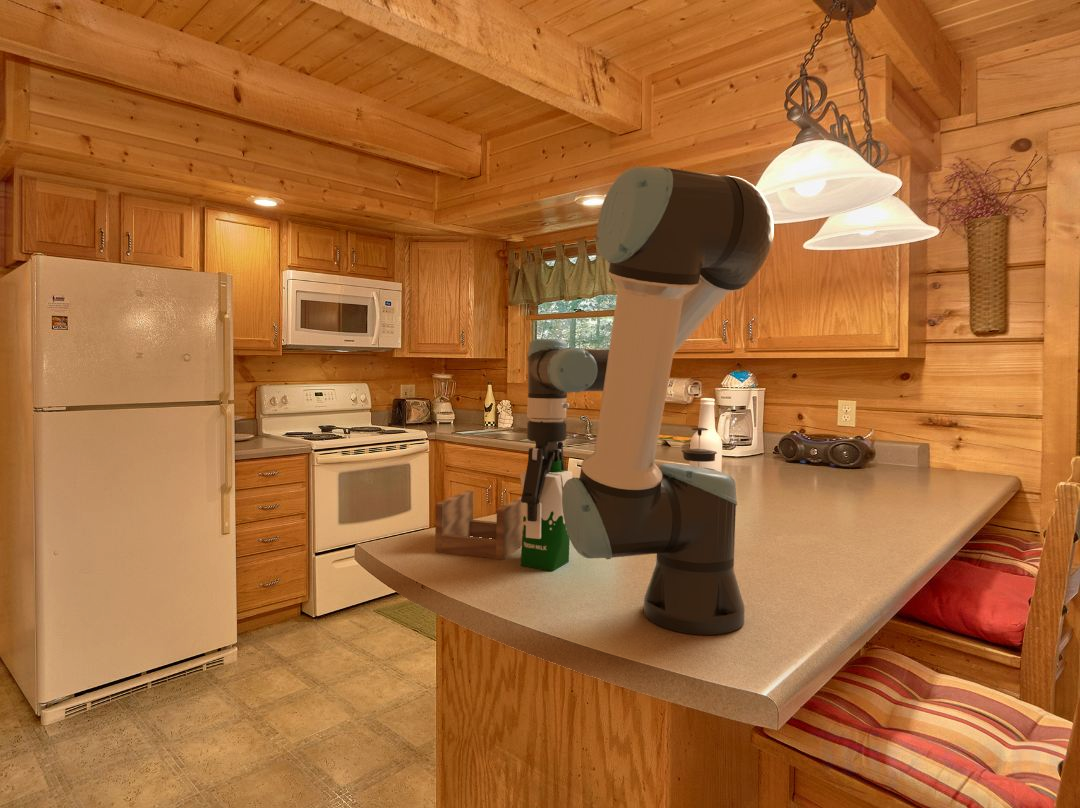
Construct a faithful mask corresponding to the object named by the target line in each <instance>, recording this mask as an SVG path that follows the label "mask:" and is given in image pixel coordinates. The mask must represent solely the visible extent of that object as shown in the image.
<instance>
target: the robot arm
mask: <svg viewBox="0 0 1080 808" xmlns="http://www.w3.org/2000/svg"><path fill="white" fill-rule="evenodd" d="M774 226H775V224H774V218H773V213H772V210H771V207H770V204H769V202H768V201H767V199H766V198H765V196H764V194H763V193H762V192H761V191H760V190H759V189H758V188H757V187H756V186H755V185H753V184H752V183H750V182H749V181H747V180H746V179H744V178H741V177H737V176H734V175H725V174H723V175H719V174H712V173H704V172H696V171H690V170H684V169H683V170H682V169H678V168H670V167H665V166H633V167H630V168H628V169H626V170H624V171H622V173H621V174H620V175H618V176H617V177H616V179H615V180H614V182H613V183H612V184H611V185H610V187H609V189H608V191H607V193H606V196H605V198H604V199H603V203H602V206H601V208H600V211H599V216H598V221H597V229H596V238H597V239H598V241H597V242H596V246H597V250H598V252H599V255H600V257H601V258H602V259H603V260H605V261H606V262H608V263H609V268H608V275H609V276H610V278H611V279H612V281H613V282H614V283H615V284H616V287H617V294H616V300H615V306H614V314H613V321H612V328H611V333H610V334H611V335H610V342H609V348H608V349H596V348H595V349H592V348H589V349H588V348H581V347H580V348H579V347H568V342H567V340H564V339H562V338H561V339H560V338H534V339H532V340H530V341H529V344H528V354H527V363H528V364H527V410H526V411H527V413H526V417H527V418H528V419H530V420H528V422H527V424H526V427H527V429H526V433H527V435H526V436H527V437H526V438H527V440H528V441H531V442H535V447H534V448H532V447H531V448H530V447H529V448H528V455H527V456H528V458H527V464H526V465H527V466H526V471H525V472H526V476H525V481H524V487H523V492H522V493H521V494H522V495H521V496H522V498H521V502H522V503H526V538H535V539H540V538H541V510H542V503H539V502H540V498H541V494H542V490H543V486H544V482H545V476H546V474H547V473H549V472H550V469H551V467H552V462H554V461H560V460H561V467H562V468H561V470H566V463H565V457H564V443H563V442H564V441H565V440H567V424H568V423H567V422H566V421H564V420H565V419H566V418H567V409H569V408H570V403H568V402H567V401H568V400H567V397H568V394H569V393H581V392H602V396H601V402H600V410H599V417H598V423H597V431H596V437H595V445H594V451H593V452H592V453H591V454H589V455H588V456H586V457H585V458H584V459H583V460H582V462H581V467H580V474H579V477H575V476H574V477H573V476H572V478H571V479H569V480H567V481H566V483H565V484H564V487H563V492H562V508H563V516H564V521H565V525H566V529H567V533H568V535H569V538H570V542H571V545H572V546H573V548H574V549H575V551H576V552H577V553H578V555H580V556H581V557H583V558H585V559H605V560H611V559H613V558H622V557H632V556H633V557H635V556H644V555H655V554H656V560H655V561H656V563H655V566H654V569H653V571H652V572H653V573H652V574H651V578H650V580H649V584H648V586H647V588H646V591H645V594H644V598H643V614H644V616H645V618H646V619H648V621H650V622H652V623H653V624H655V625H657V626H658V627H659V626H660V627H661V628H664V629H668V630H671V631H675V632H679V633H685V634H691V635H692V634H693V635H702V636H703V635H708V636H709V635H721V634H727V633H732V632H735V631H737V630H738V629H741V627H743V625H744V623H745V605H744V601H743V598H742V595H741V590H740V587H739V584H738V580H737V577H736V574H735V543H736V542H735V540H736V515H737V514H736V511H737V509H736V508H737V506H738V501H737V487H736V481H735V479H734V478H733V477H732V476H731V475H729V474H728V473H726V472H719V471H715V470H710V469H705V468H700V467H694V466H690V465H685V464H679V463H678V464H677V463H661V464H659V467H658V465H657V464H656V462H655V460H656V454H657V448H658V444H659V437H660V431H661V427H662V420H663V415H664V409H665V404H666V398H667V393H668V387H669V381H670V376H671V371H672V364H673V359H674V355H675V353H676V352H677V351H679V349H680V348H681V347H682V346H683V345H684V343H686V341H687V340H688V339H689V338H690V337H691V336H692V335H693V334H694V333H695V332H696V330H697V329H698V328H699V327H700V326H701V325H702V323H704V322H705V320H706V319H707V318H708V317H709V316H710V315H711V314H712V313H713V312H714V311H715V310H716V308H717V307H718V306H719V305H720V304H721V303H722V302H723V301H724V300H725V298H726V297H727V296H728V295H729V294H730V293H731V292H736V291H737V292H738V291H740V290H742V289H743V288H745V287H746V286H747V285H748V284H749V283H750V281H751V280H753V279H754V278H755V276H757V274H758V272H759V271H760V270H761V269H762V267H763V266H764V264H765V262H766V260H767V258H768V256H769V253H770V251H771V247H772V245H773V241H774V235H775V234H774V232H775V231H774V230H775V229H774V228H775V227H774Z"/></svg>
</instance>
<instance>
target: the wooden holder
mask: <svg viewBox="0 0 1080 808" xmlns="http://www.w3.org/2000/svg"><path fill="white" fill-rule="evenodd" d="M521 498H522V495H521V496H519V497H518V498H516V499H514V500H512V501H510V502H508V503H506V504H504V505H502V506H499V507H498V508H496V521H490V520H489V521H488V520H479V519H478V520H477V519H474V491H473V490H465V491H463V492H461V493H459V494H455V495H453V496H451V497H449V498H446V499H443V500H440V501H438V502H435V531H434V532H435V537H434V538H435V539H434V540H435V548H434V549H435V550H434V551H435V553H443V554H452V555H459V556H460V555H461V556H469V557H476V558H477V557H478V558H484V557H485V558H486V559H494V560H503V561H504V560H505V559H506V558H508V557H509V556H511V555H512V554H514V553H515V552H516V551H517V550H519V549H520V548H522V547H521V546H522V502H521ZM470 536H473V537H470ZM479 537H482V538H479ZM489 538H492V539H489ZM519 547H520V548H519ZM518 548H519V549H518ZM515 550H516V551H515ZM514 551H515V552H514ZM511 553H512V554H511ZM507 556H508V557H507ZM485 558H484V559H485Z"/></svg>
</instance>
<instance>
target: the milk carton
mask: <svg viewBox="0 0 1080 808" xmlns="http://www.w3.org/2000/svg"><path fill="white" fill-rule="evenodd" d="M561 468H562V467H561V460H560V461H554V462H552V467H551V469H550V472H549V473H547V474H546V476H545V482H544V486H543V490H542V494H541V498H540V502H539V503H542V510H541V538H540V539H535V538H526V503H522V547H521V548H520V549H521V551H520V552H521V553H520V566H521V567H528V568H532V567H533V568H532V569H537V568H538V570H545V571H550V572H554V571H555V570H557V569H559V568H561V567H562V566H564V565H566V564H568V563H569V562H570V542H571V540H570V538H569V535H568V533H567V529H566V525H565V521H564V516H563V508H562V492H563V487H564V484H565V483H566V481H567V480H569V479H571V478H573V470H566V469H565V470H561ZM525 476H526V471H525V472H521V473H519V477H520V485H521V489H522V490H521V491H522V493H523V487H524V481H525Z"/></svg>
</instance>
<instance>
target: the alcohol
mask: <svg viewBox="0 0 1080 808" xmlns="http://www.w3.org/2000/svg"><path fill="white" fill-rule="evenodd" d="M699 400H700V402H699V405H700V407H699V418H698V423H697V425H698V426H697V428H706V429H708V430H702V434H701V436H700V449H706V450H711V451H716V452H717V454H715V461H710V462H699V467H700V468H709V469H714V470H716V471H719V472H722V468H723V442H722V438H721V436H720V435H719V434H718V432H717V429H716V419H715V418H716V416H715V415H716V414H715V405H716V403H715V401H716V400H715V398H710V397H704V398H703V397H702V398H700V399H699ZM689 449H699V435H698V430H696V432H694V434H693V435H692V437H691V439H690V443H689ZM689 466H694V467H698V461H689Z"/></svg>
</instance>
